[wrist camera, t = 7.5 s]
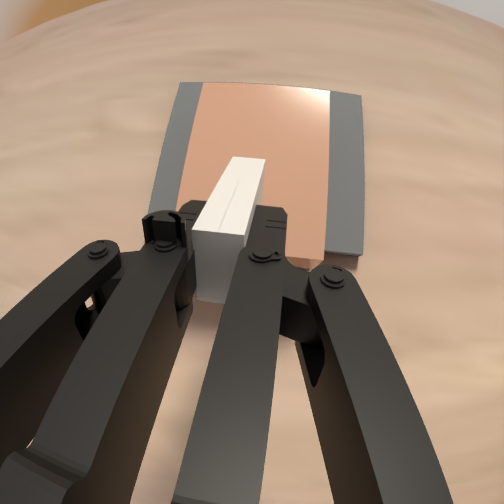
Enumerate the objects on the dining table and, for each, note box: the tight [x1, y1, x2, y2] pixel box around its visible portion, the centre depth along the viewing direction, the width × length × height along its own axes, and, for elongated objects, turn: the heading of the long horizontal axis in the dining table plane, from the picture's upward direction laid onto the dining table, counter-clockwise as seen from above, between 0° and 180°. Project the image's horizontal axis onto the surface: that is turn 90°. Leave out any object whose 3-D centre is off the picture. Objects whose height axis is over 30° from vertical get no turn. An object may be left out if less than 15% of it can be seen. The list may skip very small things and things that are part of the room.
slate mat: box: [148, 82, 365, 256], centre depth 24 cm, size 14×16×1 cm
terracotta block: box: [176, 83, 330, 269], centre depth 21 cm, size 4×9×12 cm
